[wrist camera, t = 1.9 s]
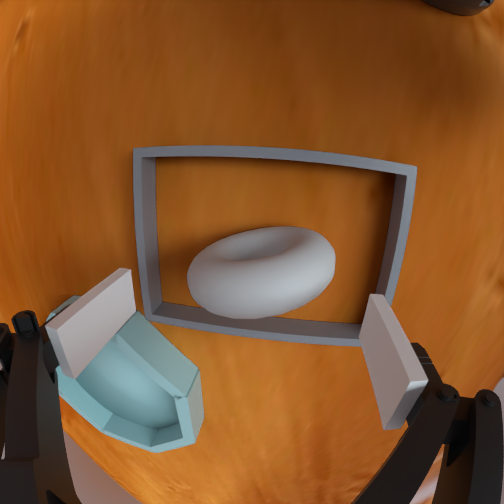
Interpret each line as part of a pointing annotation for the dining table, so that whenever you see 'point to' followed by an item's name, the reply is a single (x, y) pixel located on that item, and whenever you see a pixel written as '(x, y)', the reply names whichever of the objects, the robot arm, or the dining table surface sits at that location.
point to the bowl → (138, 388)
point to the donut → (261, 272)
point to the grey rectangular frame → (268, 325)
